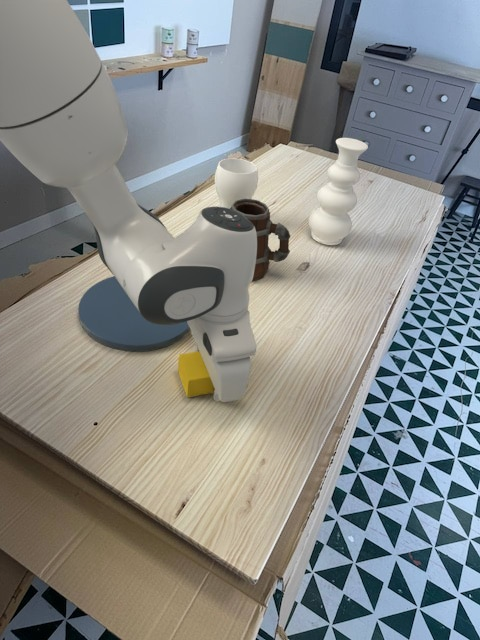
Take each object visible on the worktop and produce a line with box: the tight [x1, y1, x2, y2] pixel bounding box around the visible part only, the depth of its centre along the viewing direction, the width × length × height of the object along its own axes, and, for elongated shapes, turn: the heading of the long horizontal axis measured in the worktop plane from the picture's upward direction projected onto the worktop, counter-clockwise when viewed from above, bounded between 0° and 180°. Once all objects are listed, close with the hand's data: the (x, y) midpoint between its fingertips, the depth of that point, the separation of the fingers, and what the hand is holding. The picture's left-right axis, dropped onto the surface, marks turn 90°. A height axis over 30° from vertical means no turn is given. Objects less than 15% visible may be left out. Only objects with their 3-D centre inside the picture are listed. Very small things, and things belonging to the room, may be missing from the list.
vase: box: [308, 137, 369, 246], centre depth 113 cm, size 11×11×25 cm
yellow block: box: [177, 351, 214, 398], centre depth 77 cm, size 9×6×4 cm, turn 110°
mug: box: [230, 198, 291, 282], centre depth 101 cm, size 16×12×15 cm
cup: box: [214, 157, 259, 209], centre depth 117 cm, size 11×11×15 cm
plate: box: [77, 275, 191, 352], centre depth 89 cm, size 22×22×2 cm
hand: (209, 376), depth 78 cm, fingers open, 8 cm apart
